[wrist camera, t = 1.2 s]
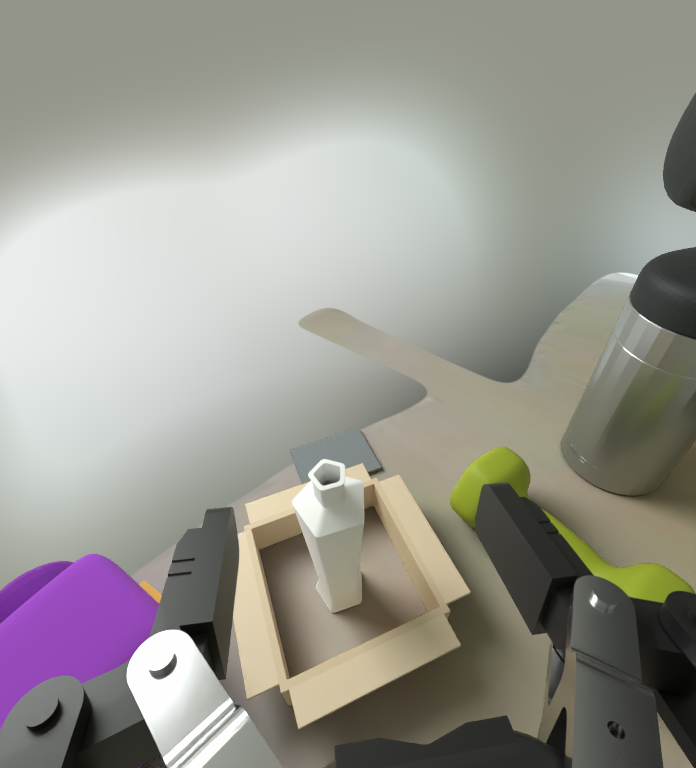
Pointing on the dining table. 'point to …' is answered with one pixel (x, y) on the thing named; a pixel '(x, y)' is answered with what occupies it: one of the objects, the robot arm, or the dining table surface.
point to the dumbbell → (559, 527)
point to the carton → (371, 659)
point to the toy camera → (70, 624)
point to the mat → (335, 453)
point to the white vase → (333, 532)
